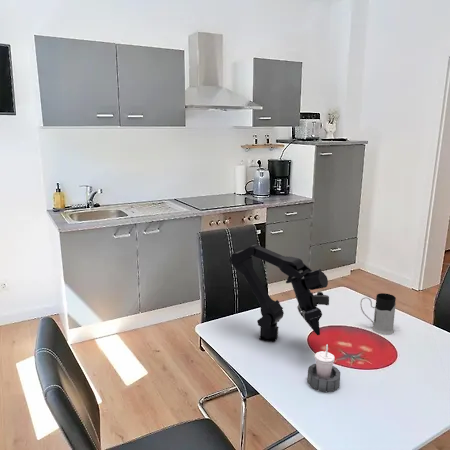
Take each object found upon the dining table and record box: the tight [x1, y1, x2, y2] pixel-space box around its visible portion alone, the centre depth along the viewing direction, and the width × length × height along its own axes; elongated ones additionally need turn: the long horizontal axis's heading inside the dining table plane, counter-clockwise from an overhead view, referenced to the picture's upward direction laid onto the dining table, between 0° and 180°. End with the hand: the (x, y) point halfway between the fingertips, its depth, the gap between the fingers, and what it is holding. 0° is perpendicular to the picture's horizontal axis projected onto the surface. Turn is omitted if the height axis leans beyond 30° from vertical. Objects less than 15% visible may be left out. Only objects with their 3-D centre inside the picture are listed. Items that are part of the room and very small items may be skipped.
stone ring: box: [306, 363, 341, 393], centre depth 135 cm, size 10×10×4 cm
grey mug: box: [360, 293, 397, 336], centre depth 171 cm, size 9×14×15 cm, turn 73°
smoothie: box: [314, 343, 335, 379], centre depth 134 cm, size 6×6×14 cm
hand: (316, 332), depth 150 cm, fingers open, 9 cm apart
